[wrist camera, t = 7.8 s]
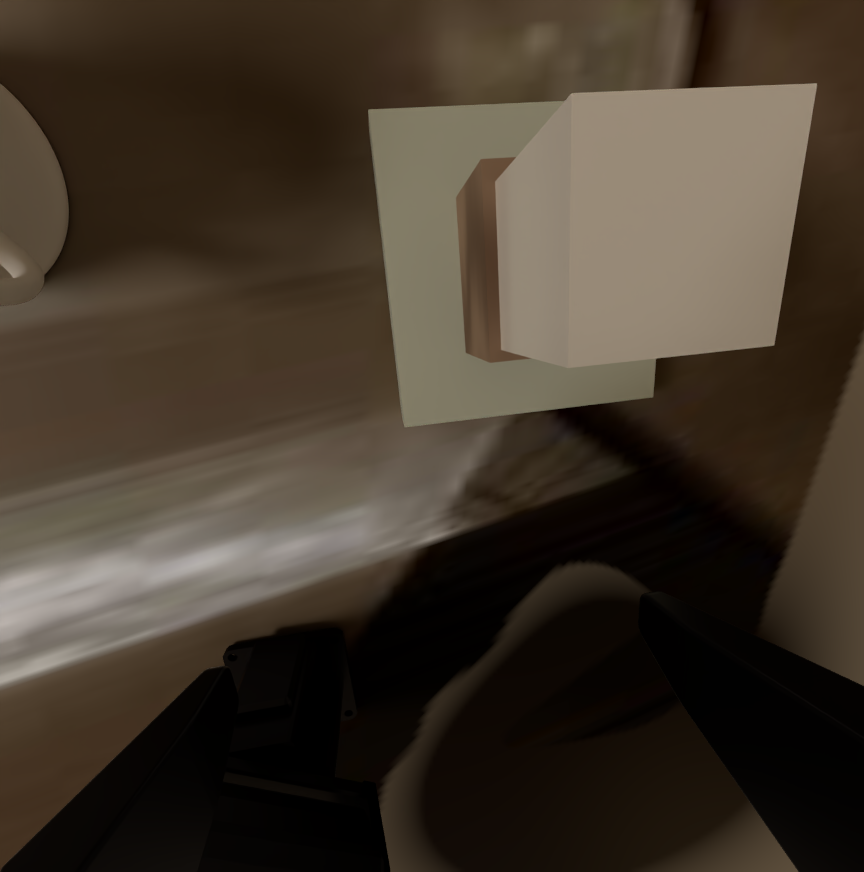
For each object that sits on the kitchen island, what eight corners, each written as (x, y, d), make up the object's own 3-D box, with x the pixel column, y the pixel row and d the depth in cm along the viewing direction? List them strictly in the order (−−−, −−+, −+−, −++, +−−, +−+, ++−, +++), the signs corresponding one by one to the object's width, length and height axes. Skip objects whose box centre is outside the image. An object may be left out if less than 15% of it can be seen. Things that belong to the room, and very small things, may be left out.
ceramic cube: (639, 335, 14) (774, 345, 9) (501, 349, 13) (568, 368, 9) (650, 172, 12) (816, 83, 8) (495, 181, 12) (572, 93, 7)
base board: (628, 389, 21) (653, 397, 19) (401, 416, 20) (404, 427, 18) (643, 120, 17) (676, 96, 16) (369, 133, 16) (368, 109, 14)
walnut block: (596, 339, 18) (654, 345, 14) (465, 352, 17) (490, 362, 14) (601, 187, 16) (669, 148, 12) (456, 197, 16) (480, 158, 12)
